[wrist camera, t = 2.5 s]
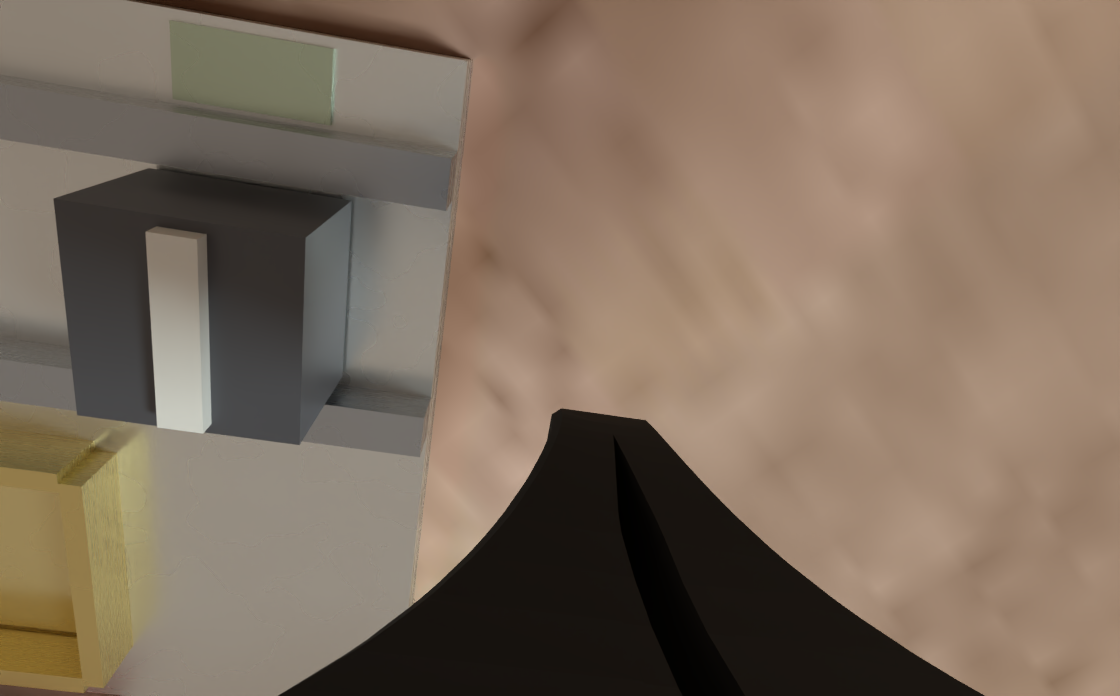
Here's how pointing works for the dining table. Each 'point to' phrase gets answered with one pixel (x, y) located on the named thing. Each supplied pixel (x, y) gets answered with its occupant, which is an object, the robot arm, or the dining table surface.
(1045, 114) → the dining table surface
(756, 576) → the robot arm
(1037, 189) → the dining table surface
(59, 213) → the switch
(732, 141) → the dining table surface
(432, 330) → the panel
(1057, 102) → the dining table surface
